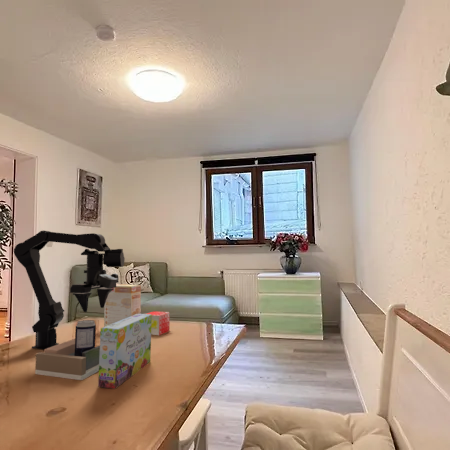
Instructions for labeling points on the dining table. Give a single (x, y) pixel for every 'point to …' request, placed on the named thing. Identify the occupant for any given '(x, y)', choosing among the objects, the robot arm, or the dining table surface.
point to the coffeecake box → (122, 303)
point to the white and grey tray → (63, 366)
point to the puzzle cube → (160, 322)
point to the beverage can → (84, 336)
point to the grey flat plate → (92, 357)
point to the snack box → (124, 349)
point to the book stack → (63, 348)
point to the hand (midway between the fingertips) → (94, 309)
